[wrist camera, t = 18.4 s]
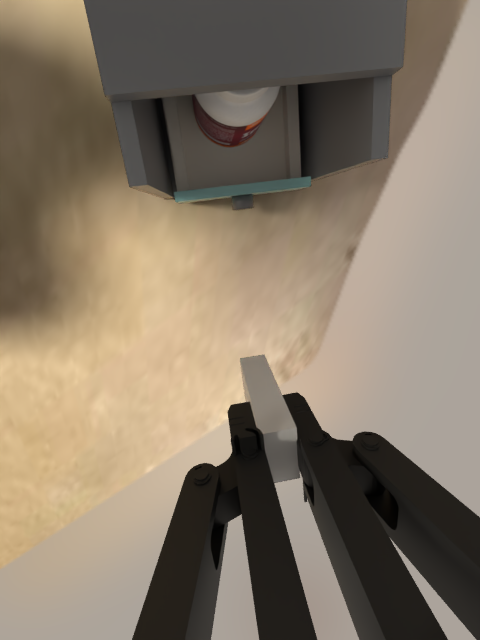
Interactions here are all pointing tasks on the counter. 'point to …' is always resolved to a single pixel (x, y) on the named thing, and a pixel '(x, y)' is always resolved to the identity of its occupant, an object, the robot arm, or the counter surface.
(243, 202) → the tray
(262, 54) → the housing
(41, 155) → the counter surface
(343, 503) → the robot arm
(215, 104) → the pill bottle
